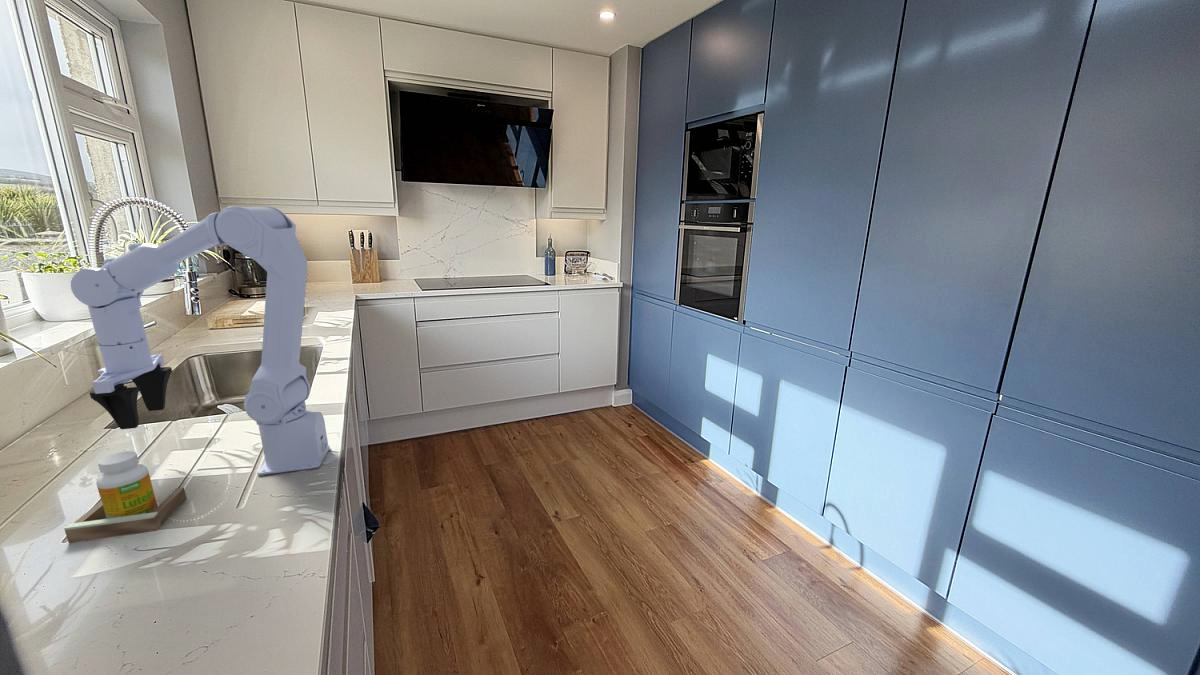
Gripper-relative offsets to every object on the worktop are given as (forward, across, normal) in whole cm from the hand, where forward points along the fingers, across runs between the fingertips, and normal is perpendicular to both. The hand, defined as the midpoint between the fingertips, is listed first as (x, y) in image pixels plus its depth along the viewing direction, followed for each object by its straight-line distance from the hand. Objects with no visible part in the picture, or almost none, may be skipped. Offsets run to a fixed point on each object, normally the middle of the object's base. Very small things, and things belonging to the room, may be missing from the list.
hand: (143, 418), depth 83 cm
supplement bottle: (+10, +16, +5) cm, 19 cm away
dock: (+9, +16, +5) cm, 19 cm away
